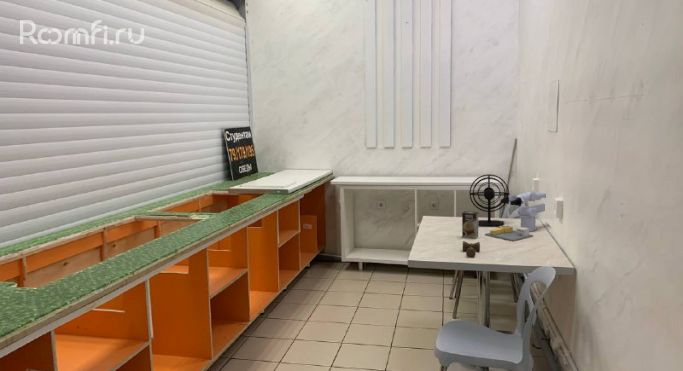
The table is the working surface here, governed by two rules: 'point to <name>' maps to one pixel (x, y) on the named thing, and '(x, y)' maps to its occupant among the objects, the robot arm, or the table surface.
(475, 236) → the coffee box
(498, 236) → the base
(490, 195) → the desk fan
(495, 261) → the table surface
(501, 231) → the link
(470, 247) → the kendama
